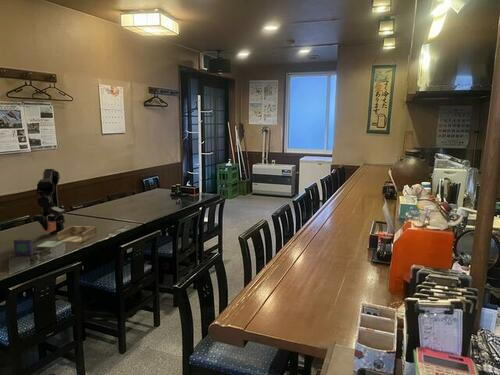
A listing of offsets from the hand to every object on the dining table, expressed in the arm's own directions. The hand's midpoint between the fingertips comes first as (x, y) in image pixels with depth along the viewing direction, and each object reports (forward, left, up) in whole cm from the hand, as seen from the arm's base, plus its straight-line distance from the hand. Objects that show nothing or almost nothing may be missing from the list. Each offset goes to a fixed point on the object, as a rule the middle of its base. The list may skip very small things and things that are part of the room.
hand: (49, 229), depth 205 cm
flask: (-4, -17, -10) cm, 20 cm away
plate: (0, 0, -10) cm, 10 cm away
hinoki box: (+9, +13, -10) cm, 18 cm away
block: (0, 0, -1) cm, 1 cm away
